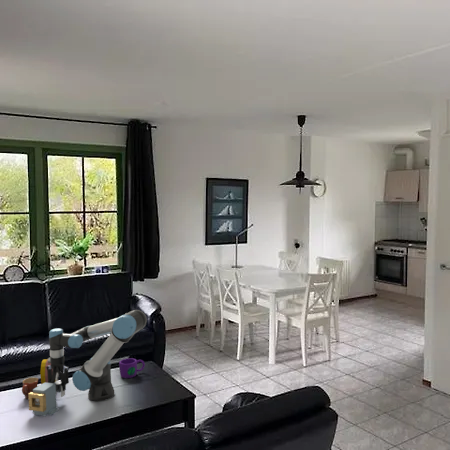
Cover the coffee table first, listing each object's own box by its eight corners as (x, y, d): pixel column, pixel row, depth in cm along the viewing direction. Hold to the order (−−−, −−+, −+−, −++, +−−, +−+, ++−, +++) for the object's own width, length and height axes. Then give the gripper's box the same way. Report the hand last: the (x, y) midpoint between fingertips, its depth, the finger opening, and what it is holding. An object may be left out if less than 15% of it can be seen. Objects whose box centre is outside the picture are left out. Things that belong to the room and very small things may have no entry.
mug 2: (123, 380, 304) (123, 365, 303) (117, 375, 313) (116, 360, 312) (148, 374, 314) (148, 359, 313) (141, 369, 323) (140, 354, 322)
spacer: (46, 409, 257) (45, 393, 256) (43, 411, 255) (42, 395, 254) (32, 407, 260) (31, 391, 259) (29, 409, 257) (28, 393, 257)
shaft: (64, 389, 276) (63, 381, 276) (40, 405, 256) (40, 396, 255) (57, 388, 277) (56, 380, 277) (33, 404, 257) (32, 395, 257)
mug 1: (29, 393, 287) (28, 377, 287) (42, 394, 286) (41, 377, 285) (16, 402, 276) (15, 385, 275) (30, 403, 274) (29, 385, 273)
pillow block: (60, 408, 266) (59, 383, 266) (49, 416, 257) (47, 391, 256) (42, 406, 270) (40, 381, 269) (30, 414, 260) (29, 389, 259)
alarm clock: (55, 391, 290) (54, 362, 288) (41, 392, 288) (39, 363, 287) (59, 381, 304) (58, 353, 303) (46, 383, 303) (45, 354, 302)
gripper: (74, 354, 274) (76, 394, 276) (47, 352, 279) (49, 391, 281) (66, 359, 267) (68, 399, 269) (39, 357, 272) (41, 396, 274)
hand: (58, 395), depth 275 cm, fingers closed on shaft, 5 cm apart
